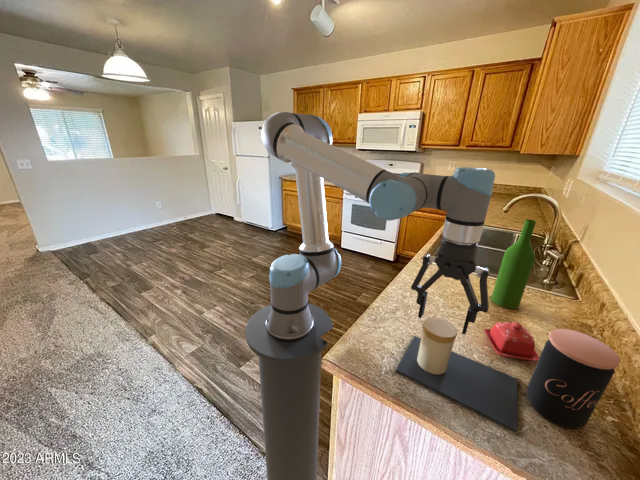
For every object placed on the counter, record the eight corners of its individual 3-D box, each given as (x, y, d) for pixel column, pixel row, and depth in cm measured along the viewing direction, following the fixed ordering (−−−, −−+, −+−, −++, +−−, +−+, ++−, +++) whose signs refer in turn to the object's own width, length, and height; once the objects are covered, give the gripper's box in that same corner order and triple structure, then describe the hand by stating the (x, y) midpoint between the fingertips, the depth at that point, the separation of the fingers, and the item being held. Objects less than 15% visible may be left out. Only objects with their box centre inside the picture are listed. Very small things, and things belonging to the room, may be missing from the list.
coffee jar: (527, 414, 59) (554, 351, 53) (522, 380, 67) (545, 322, 61) (591, 442, 54) (630, 375, 47) (578, 401, 62) (609, 340, 56)
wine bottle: (524, 307, 98) (554, 223, 87) (505, 310, 96) (533, 225, 85) (503, 294, 106) (528, 216, 95) (485, 297, 104) (508, 217, 93)
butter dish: (542, 365, 72) (552, 340, 69) (496, 358, 74) (504, 334, 71) (520, 336, 83) (528, 314, 80) (481, 331, 85) (487, 309, 82)
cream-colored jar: (413, 365, 70) (420, 330, 66) (421, 348, 76) (428, 315, 72) (443, 379, 66) (452, 343, 62) (449, 360, 72) (458, 326, 68)
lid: (418, 334, 67) (419, 328, 66) (427, 318, 73) (428, 313, 72) (452, 348, 63) (453, 342, 62) (458, 330, 69) (459, 325, 68)
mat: (395, 371, 69) (396, 369, 69) (414, 337, 81) (414, 335, 81) (516, 432, 55) (516, 430, 55) (516, 380, 67) (517, 378, 67)
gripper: (521, 246, 56) (494, 332, 63) (414, 226, 68) (403, 301, 75) (521, 257, 50) (492, 351, 58) (405, 233, 62) (393, 313, 70)
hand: (441, 322), depth 66 cm, fingers open, 10 cm apart
